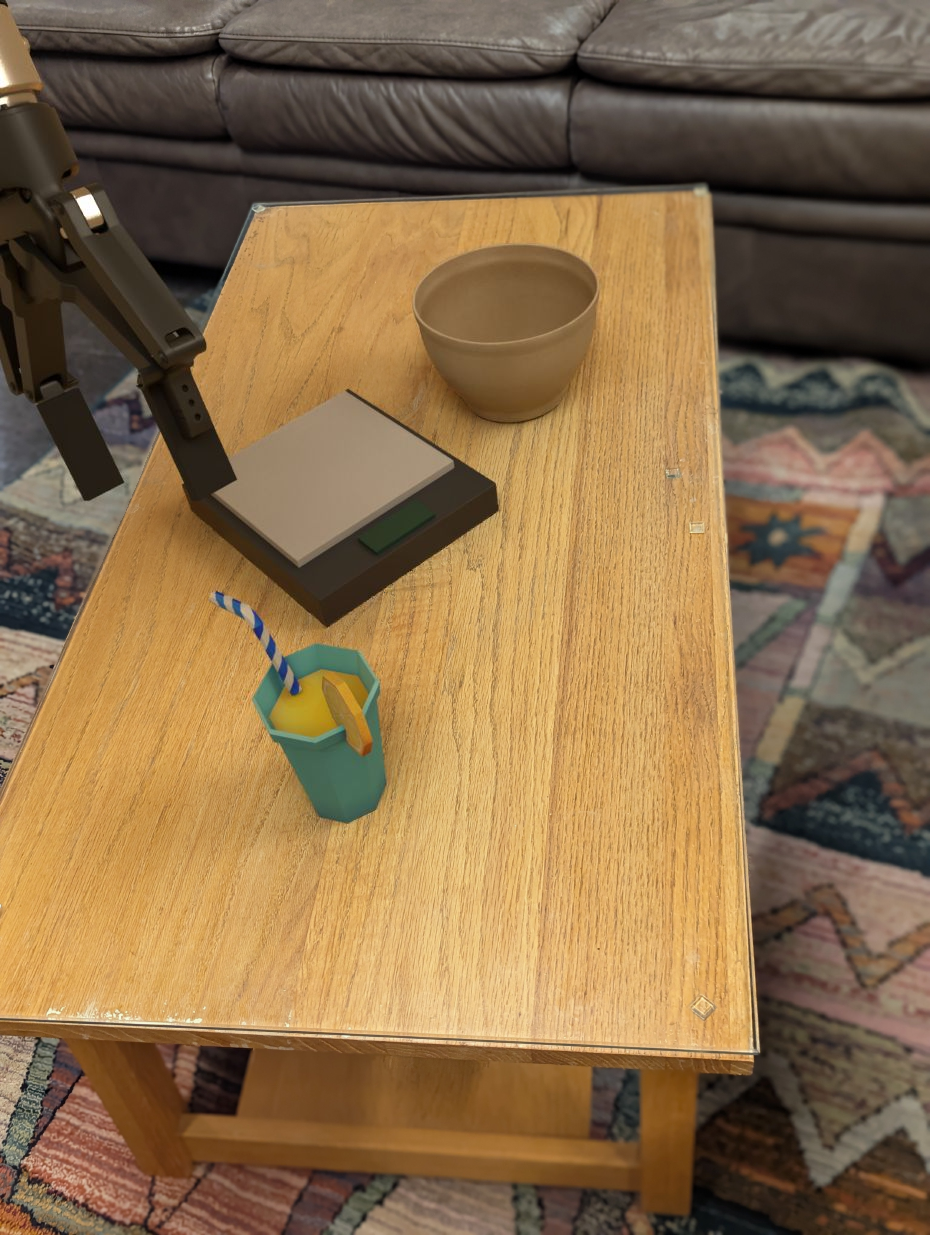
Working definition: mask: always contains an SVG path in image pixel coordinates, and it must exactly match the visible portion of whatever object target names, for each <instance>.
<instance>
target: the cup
mask: <svg viewBox="0 0 930 1235" xmlns="http://www.w3.org/2000/svg"><path fill="white" fill-rule="evenodd" d="M208 598H209V602H210V603H212V605H214V606H217V607H219V608H221V609H222V610H225V611H227V612H229V613H231V614H232V615H235V616H237V617H239V618H241V619H243V620H244V621H245V623H247V624H248V626H249V627H250V628H251V629H252V631H253V633H254V635H255V636H256V638H257V639H258V641H259V644H260V645H261V646H262V648H263V650H264V652H265V653H266V655H267V657H268V658H269V660H270V661H271V663H270V665H269V667H268V669H267V670H266V673H265V674H264V676H263V678H262V679H261V681H260V683H259V685H258V687H257V688H256V691H255V693H254V694H253V696H252V698H251V702H252V703H253V706H254V708H255V710H256V712H257V714H258V716H259V717H260V720H261V721H262V723H263V725H264V728H265V729H266V731H267V733H268V735H269V737H270V738H271V740H272V741H273V743H276V744H279V745H280V748H281V749H282V751H283V753H284V755H285V756H286V758H287V759H288V762H289V764H290V766H291V768H292V770H293V771H294V773H295V775H296V777H297V779H298V781H299V782H300V784H301V786H302V789H303V790H304V792H305V793H306V795H307V797H308V799H309V801H310V803H311V805H312V806H313V808H314V811H315V812H316V814H317V816H318V817H319V818H321V819H327V820H330V821H335V822H340V823H345V824H350V823H351V822H353V821H356V820H357V819H360V818H362V817H364V816H365V815H367V814H370V813H372V812H374V811H375V810H377V808H378V806H379V803H380V801H381V798H382V796H383V793H384V791H385V790H386V787H387V784H388V783H387V776H386V768H385V767H386V766H385V759H384V752H383V751H384V750H383V748H384V747H383V741H382V740H383V739H382V733H381V732H382V731H381V723H380V714H379V706H378V699H379V697H380V695H381V682H380V680H379V679H378V677H377V675H376V674H375V672H374V671H373V669H372V668H371V666H370V664H369V663H368V661H367V660H366V658H365V656H364V654H363V653H362V652H361V650H360V649H359V650H358V649H353V648H346V647H341V646H336V645H329V644H325V643H319V642H314V643H313V644H310V645H308V646H306V647H303V648H302V649H299V650H296V651H295V652H293V653H290V654H288V655H285V656H284V655H283V654H282V651H281V650H280V648H279V647H278V645H277V643H276V642H275V640H274V638H273V636H272V635H271V633H270V631H269V629H268V627H267V626H266V624H265V623H264V621H263V619H262V618H261V616H259V614H257V612H256V611H255V610H254V609H253V607H251V605H250V604H248V603H245V602H243V601H241V600H238V599H236V598H234V597H232V596H229V595H227V594H225V593H222V592H221V591H218V590H214V591H212V592H211V593H210V595H209V596H208Z"/></svg>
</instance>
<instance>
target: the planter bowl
mask: <svg viewBox="0 0 930 1235" xmlns="http://www.w3.org/2000/svg"><path fill="white" fill-rule="evenodd" d="M599 298H600V279H599V275H598V274H597V272H596V270H595V268H594V267H593V266H592V264H590V263H589V262H588V261H587V260H586V259H584V258H583V257H581V256H580V255H578V254H576V253H575V252H572V251H570V250H568V249H565V248H562V247H558V246H555V245H548V244H543V243H537V242H536V243H534V242H505V243H504V242H503V243H496V244H489V245H484V246H480V247H475V248H471V249H469V250H465V251H463V252H461V253H458V254H455V255H454V256H450V257H449V258H447V259H445V260H443V261H441V262H440V263H437V264H436V265H435V266H433V267H432V268H431V269H429V270H428V271H427V272H426V273H425V274H424V275H423V276H422V277H421V278H420V279H419V281H418V282H417V283H416V286H415V287H414V290H413V293H412V297H411V306H412V307H411V308H412V312H413V316H414V319H415V321H416V323H417V326H418V330H419V333H420V337H421V341H422V343H423V346H424V348H425V352H426V353H427V355H428V357H429V359H430V361H431V363H432V365H433V367H435V370H436V371H437V372H438V374H439V375H440V377H441V379H443V381H445V383H446V384H447V385H448V386H449V387H450V388H451V389H452V390H453V391H454V392H455V393H456V394H457V395H458V396H459V397H461V398H462V399H463V401H464V403H465V405H466V406H467V408H468V409H469V411H471V413H473V414H474V415H476V416H478V417H480V418H482V419H484V420H488V421H491V422H498V423H519V422H526V421H529V420H534V419H536V418H539V417H541V416H544V415H546V414H547V413H549V412H551V411H552V410H554V409H555V408H556V407H557V406H558V405H559V404H560V403H561V402H562V400H563V399H564V396H565V394H566V391H567V386H569V384H570V383H571V382H572V381H573V379H574V378H575V376H576V375H577V373H578V371H579V370H580V369H581V366H582V365H583V363H584V361H585V359H586V357H587V354H588V352H589V349H590V346H591V343H592V340H593V337H594V332H595V327H596V319H597V307H598V306H597V305H598V304H599V303H598V302H599Z"/></svg>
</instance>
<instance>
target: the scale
mask: <svg viewBox="0 0 930 1235" xmlns="http://www.w3.org/2000/svg"><path fill="white" fill-rule="evenodd" d="M227 457H228V459H229V462H230V464H231V466H232V468H233V471H234V473H235V475H236V478H237V480H236V481H234V482H232V483H231V484H229V485H227V486H225V487H223V488H222V489H220V490H218V491H216V492H214V493H213V494H211V495H209V496H207V497H205V498H203V499H202V500H200V501H192V500H191V498H190V495H189V493H188V491H187V489H186V487H185V485H184V482H182V483H181V487H182V490H183V492H184V495H185V498H186V501H187V503H188V506H189V509H190V511H191V512H192V513H194V515H196V516H197V517H198V518H199V519H200V520H201V521H202V522H204V523H205V524H206V525H207V526H208V527H210V528H211V529H212V530H213V531H214V532H215V533H217V534H218V535H219V536H220V538H222V539H223V540H225V541H226V542H227V543H228V544H229V545H231V547H233V548H234V549H235V550H236V551H237V552H238V553H240V554H241V555H242V556H243V557H244V558H246V559H247V560H248V561H249V562H250V563H251V564H253V565H254V567H256V568H257V569H258V570H260V572H262V573H263V574H264V575H265V576H267V577H268V578H269V579H270V580H271V581H272V582H273V583H275V584H276V585H277V586H278V587H279V588H280V589H282V590H283V591H284V592H285V593H286V594H287V595H289V597H290V598H292V599H293V600H294V601H295V602H297V604H299V606H301V607H303V608H304V609H305V610H306V611H307V612H308V613H310V614H311V615H312V616H313V618H315V619H316V620H317V621H318V622H320V623H321V624H322V625H323V626H325V627H326V628H328V627H330V626H331V625H333V624H334V623H336V622H338V621H339V620H341V619H342V618H344V616H347V615H348V614H349V613H350V612H352V611H353V610H355V609H356V608H358V607H359V606H361V605H362V604H364V603H365V602H366V601H368V600H370V599H371V598H373V597H374V596H375V595H377V594H379V593H380V592H381V591H383V590H385V589H386V588H387V587H389V586H390V585H392V584H393V583H395V582H396V581H398V580H399V579H400V578H402V577H404V576H406V574H408V573H409V572H411V571H412V570H414V569H415V568H417V567H418V566H420V565H421V564H422V563H424V562H425V561H427V560H429V559H430V558H431V557H433V556H434V555H436V554H437V553H439V552H440V551H442V550H444V549H445V548H446V547H447V546H449V545H450V544H452V543H453V542H455V541H456V540H458V539H459V538H461V537H462V536H464V535H465V534H467V533H468V532H470V531H471V530H472V529H474V528H476V527H477V526H478V525H480V524H481V523H483V522H484V521H486V520H488V519H489V518H490V517H491V516H493V515H494V514H496V513H497V512H499V511H500V508H499V500H498V490H497V483H496V482H495V481H493V480H492V479H491V478H489V477H487V476H486V475H484V474H482V473H481V472H479V471H478V470H476V469H474V468H473V467H471V466H470V465H469V464H467V463H466V462H464V461H463V460H461V459H459V458H457V457H456V456H454V455H453V454H451V453H450V452H448V451H446V450H445V449H444V448H442V447H440V446H439V445H437V444H435V443H434V442H432V441H431V440H429V439H428V438H426V437H424V436H423V435H422V434H420V433H419V432H417V431H416V430H414V429H412V428H410V427H409V426H408V425H406V424H405V423H402V422H401V421H400V420H398V419H396V418H395V417H393V416H392V415H390V414H389V413H387V412H386V411H384V410H382V409H381V408H379V407H378V406H376V405H374V404H373V403H371V402H370V401H368V400H367V399H366V398H363V397H362V396H360V395H359V394H358V393H356V392H354V391H353V390H351V389H350V388H347V389H345V390H343V391H341V392H339V393H337V394H336V395H334V396H332V397H331V398H329V399H327V400H326V401H323V402H322V403H320V404H318V405H317V406H314V407H312V408H311V409H309V410H308V411H306V412H304V413H303V414H301V415H299V416H298V417H296V418H294V419H292V420H290V421H289V422H287V423H285V424H283V425H282V426H280V427H278V428H277V429H275V430H272V431H271V432H270V433H268V434H266V435H265V436H263V437H260V438H259V439H257V440H256V441H254V442H252V443H250V444H249V445H246V446H245V447H243V448H242V449H239V450H238V451H236V452H235V453H233V454H232V455H229V456H227Z"/></svg>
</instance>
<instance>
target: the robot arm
mask: <svg viewBox="0 0 930 1235" xmlns="http://www.w3.org/2000/svg"><path fill="white" fill-rule="evenodd" d="M30 53H31V45H30V42H29V39H27V38H26V37H25V36H24V35H22V34H21V32H20V30H19V28H18V25H17V24H16V22H15V19H14V17H13V14H12V12H11V10H10V9H9V5H8V2H7V0H0V364H1V367H2V370H3V374H4V378H5V380H6V384H7V387H8V389H9V391H10V392H11V393H12V394H13V395H14V396H16V397H18V396H21V395H23V394H24V396H25V398H26V399H27V400H28V401H29V403H31V404H33V405H35V407H36V408H37V410H38V412H39V414H40V416H41V418H42V421H43V423H44V425H45V426H46V428H47V431H48V432H49V434H50V436H51V438H52V440H53V442H54V444H55V446H56V448H57V450H58V452H59V454H60V457H61V458H62V460H63V463H64V465H65V466H66V468H67V470H68V472H69V474H70V476H71V479H72V480H73V482H74V484H75V486H76V488H77V490H78V492H79V494H80V496H81V498H82V500H83V501H84V502H91V501H92V500H94V499H96V498H98V497H100V496H101V495H103V494H106V493H108V492H109V491H112V490H113V489H115V488H117V487H119V486H121V485H124V484H125V481H124V478H123V476H122V474H121V472H120V470H119V468H118V466H117V464H116V461H115V460H114V457H113V455H112V454H111V452H110V450H109V447H108V445H107V443H106V441H105V439H104V437H103V435H102V433H101V430H100V429H99V427H98V424H97V423H96V420H95V418H94V416H93V415H92V411H91V410H90V408H89V406H88V404H87V402H86V400H85V398H84V396H83V394H82V391H81V388H79V387H76V386H78V385H79V383H80V380H79V379H77V377H75V376H74V375H73V374H72V373H70V372H69V371H68V364H67V355H66V354H67V353H66V345H65V335H64V326H63V316H62V315H63V314H62V304H63V303H69V304H70V303H71V304H73V305H75V306H76V307H77V308H78V309H79V310H80V311H81V312H82V313H83V314H84V315H85V316H86V317H87V319H88V320H89V321H91V323H92V324H93V325H94V326H95V327H96V328H97V329H98V330H99V331H100V332H101V333H102V334H103V335H104V336H105V337H106V338H107V340H109V342H110V343H111V344H112V345H113V346H114V347H115V348H116V349H117V350H118V351H119V352H120V353H121V354H122V355H123V357H124V358H125V359H126V360H128V362H129V363H130V364H131V365H132V366H133V367H134V368H135V369H136V370H137V373H138V374H137V375H136V376H137V377H136V385H135V386H136V388H137V389H138V390H140V391H141V393H142V395H143V398H144V399H145V402H146V404H147V407H148V408H149V411H150V412H151V415H152V418H153V419H154V421H155V423H156V426H157V428H158V430H159V432H160V434H161V437H162V439H163V440H164V443H165V445H166V447H167V448H166V449H167V450H168V453H169V454H170V456H171V458H172V461H173V462H174V465H175V467H176V469H177V471H178V474H179V476H180V478H181V480H182V483H184V485H185V487H186V489H187V491H188V493H189V495H190V498H191V500H192V501H200V500H202V499H203V498H205V497H207V496H209V495H211V494H213V493H214V492H216V491H218V490H220V489H222V488H223V487H225V486H227V485H229V484H231V483H232V482H234V481H236V480H237V478H236V475H235V473H234V471H233V468H232V466H231V464H230V462H229V459H228V457H229V456H228V455H227V453H226V450H225V448H224V446H223V444H222V441H221V439H220V436H219V434H218V432H217V430H216V427H215V425H214V422H213V420H212V417H211V415H210V413H209V411H208V408H207V406H206V404H205V401H204V399H203V397H202V395H201V392H200V390H199V388H198V385H197V383H196V380H195V378H194V377H193V374H192V369H191V368H192V367H194V364H195V359H196V358H197V356H198V355H201V354H203V353H205V352H206V351H207V348H208V346H207V341H206V338H205V336H204V335H203V333H202V332H201V330H200V329H199V328H198V326H197V325H196V323H195V322H194V321H193V320H192V318H191V317H190V315H189V314H188V313H187V312H186V310H185V308H184V307H183V306H182V304H181V303H180V302H179V300H178V299H177V298H176V296H175V295H174V294H173V292H172V291H171V290H170V288H169V287H168V285H167V284H166V283H165V282H164V280H163V279H162V278H161V276H160V275H159V273H158V272H157V271H156V269H155V268H154V266H153V265H152V264H151V263H150V261H149V260H148V258H147V257H146V255H145V254H144V253H143V251H142V250H141V249H140V247H139V246H138V245H137V244H136V242H135V240H134V239H133V238H132V236H131V235H130V234H129V233H128V231H127V230H126V228H125V226H124V225H123V224H122V223H121V221H120V218H119V216H118V215H117V212H116V211H115V208H114V207H113V205H112V202H111V201H110V199H109V196H108V195H107V193H106V191H105V189H104V187H103V186H102V185H101V184H100V183H98V182H94V183H91V184H88V185H85V186H81V187H78V188H75V189H73V190H68V191H67V190H66V188H65V186H64V185H63V183H66V182H67V181H70V180H71V179H73V178H75V177H76V176H77V175H78V173H79V171H80V162H79V160H78V157H77V155H76V153H75V151H74V148H73V146H72V144H71V142H70V139H69V137H68V134H67V133H66V130H65V128H64V126H63V124H62V121H61V119H60V116H59V114H58V112H57V109H56V108H55V107H53V106H50V104H49V103H47V102H42V101H40V102H38V99H37V97H39V96H40V95H41V92H42V90H43V88H44V84H43V81H42V79H41V77H40V74H39V72H38V70H37V68H36V66H35V63H34V61H33V59H32V57H31V54H30ZM175 333H176V334H175ZM73 387H75V388H73ZM71 388H72V389H71ZM68 389H69V390H68ZM66 390H67V391H66Z"/></svg>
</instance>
